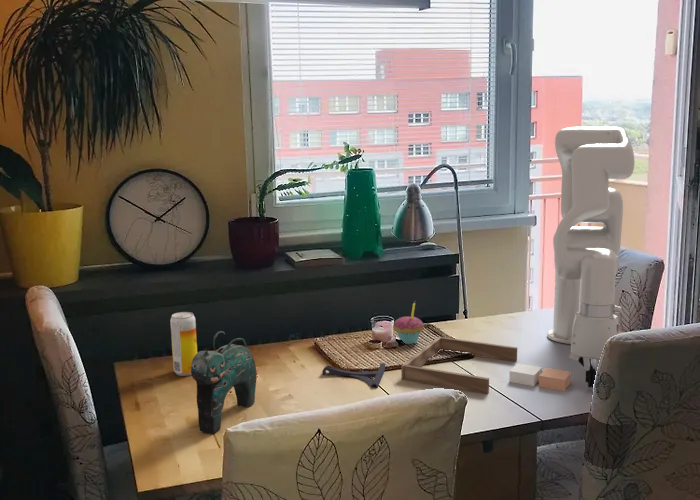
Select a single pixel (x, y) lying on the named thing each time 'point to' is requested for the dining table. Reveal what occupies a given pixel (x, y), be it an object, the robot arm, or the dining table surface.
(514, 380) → the white square tile
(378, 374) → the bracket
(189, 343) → the beer can
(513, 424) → the dining table surface
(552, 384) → the terracotta tile
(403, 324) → the cupcake
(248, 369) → the ceramic cat
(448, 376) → the frame
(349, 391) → the dining table surface
